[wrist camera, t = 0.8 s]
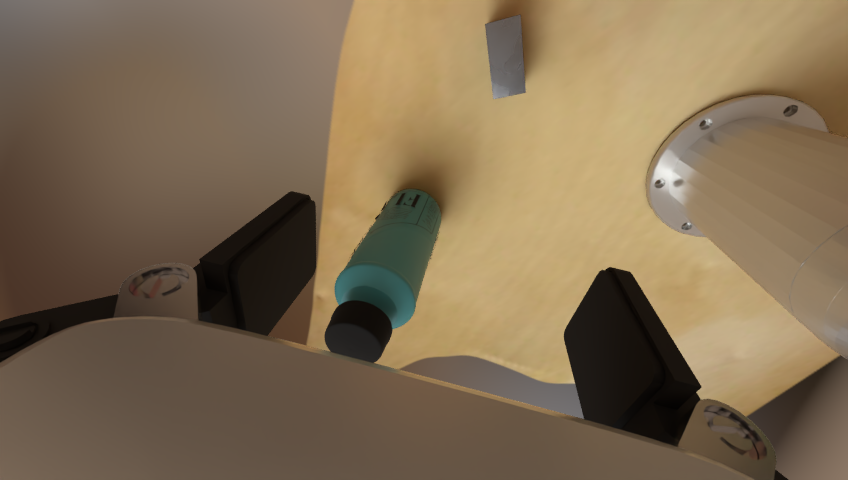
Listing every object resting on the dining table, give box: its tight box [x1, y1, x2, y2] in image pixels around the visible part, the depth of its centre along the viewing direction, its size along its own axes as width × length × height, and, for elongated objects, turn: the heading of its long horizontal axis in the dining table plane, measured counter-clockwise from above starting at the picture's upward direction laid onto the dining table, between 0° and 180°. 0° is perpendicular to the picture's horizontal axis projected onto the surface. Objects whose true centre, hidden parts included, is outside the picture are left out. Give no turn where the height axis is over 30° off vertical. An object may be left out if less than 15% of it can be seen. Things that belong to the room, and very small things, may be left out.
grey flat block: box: [485, 15, 526, 99], centre depth 26 cm, size 2×5×5 cm, turn 12°
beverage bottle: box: [325, 189, 441, 363], centre depth 29 cm, size 6×7×20 cm
